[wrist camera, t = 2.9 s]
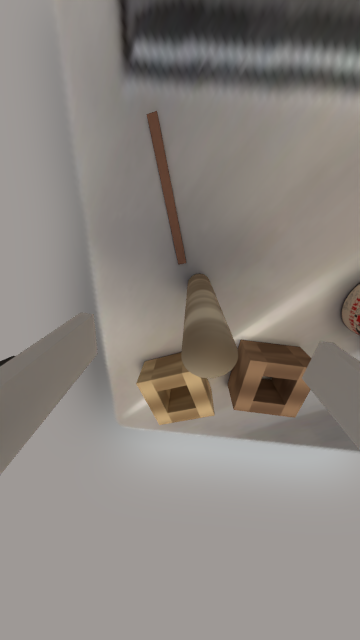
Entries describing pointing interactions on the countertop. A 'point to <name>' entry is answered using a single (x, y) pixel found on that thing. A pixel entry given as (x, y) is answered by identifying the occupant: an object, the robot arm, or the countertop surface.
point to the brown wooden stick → (166, 184)
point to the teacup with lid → (352, 310)
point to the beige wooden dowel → (206, 332)
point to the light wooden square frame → (174, 390)
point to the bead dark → (265, 394)
